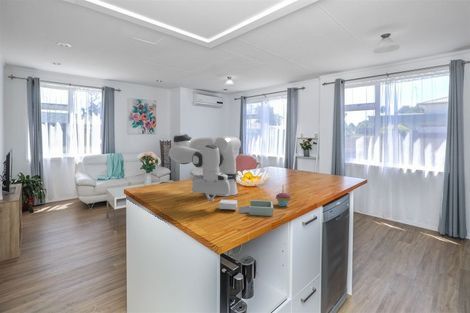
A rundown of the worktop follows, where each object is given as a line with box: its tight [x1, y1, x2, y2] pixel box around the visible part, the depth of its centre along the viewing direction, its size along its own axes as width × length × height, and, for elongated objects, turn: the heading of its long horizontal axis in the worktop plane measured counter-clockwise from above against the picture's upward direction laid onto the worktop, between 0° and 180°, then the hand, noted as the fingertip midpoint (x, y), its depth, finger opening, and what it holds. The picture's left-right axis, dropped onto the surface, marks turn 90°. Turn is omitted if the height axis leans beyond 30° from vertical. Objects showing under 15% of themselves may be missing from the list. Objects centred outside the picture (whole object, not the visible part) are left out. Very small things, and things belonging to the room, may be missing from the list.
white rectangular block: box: [218, 199, 238, 212], centre depth 128 cm, size 9×7×4 cm
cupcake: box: [275, 184, 292, 207], centre depth 137 cm, size 9×8×12 cm
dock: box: [237, 199, 274, 217], centre depth 126 cm, size 18×13×5 cm
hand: (210, 201), depth 128 cm, fingers closed
